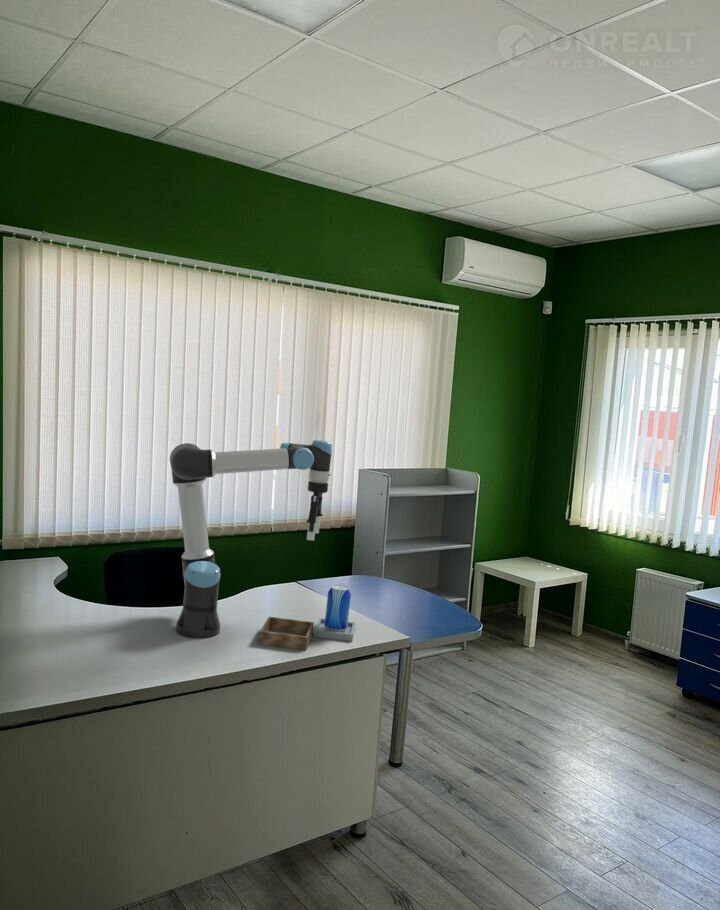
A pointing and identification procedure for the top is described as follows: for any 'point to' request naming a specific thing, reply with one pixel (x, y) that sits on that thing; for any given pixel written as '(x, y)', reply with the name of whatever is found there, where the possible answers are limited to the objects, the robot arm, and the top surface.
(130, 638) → the top surface
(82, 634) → the top surface
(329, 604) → the beer can
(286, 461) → the robot arm
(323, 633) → the tray
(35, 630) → the top surface
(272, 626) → the crate
